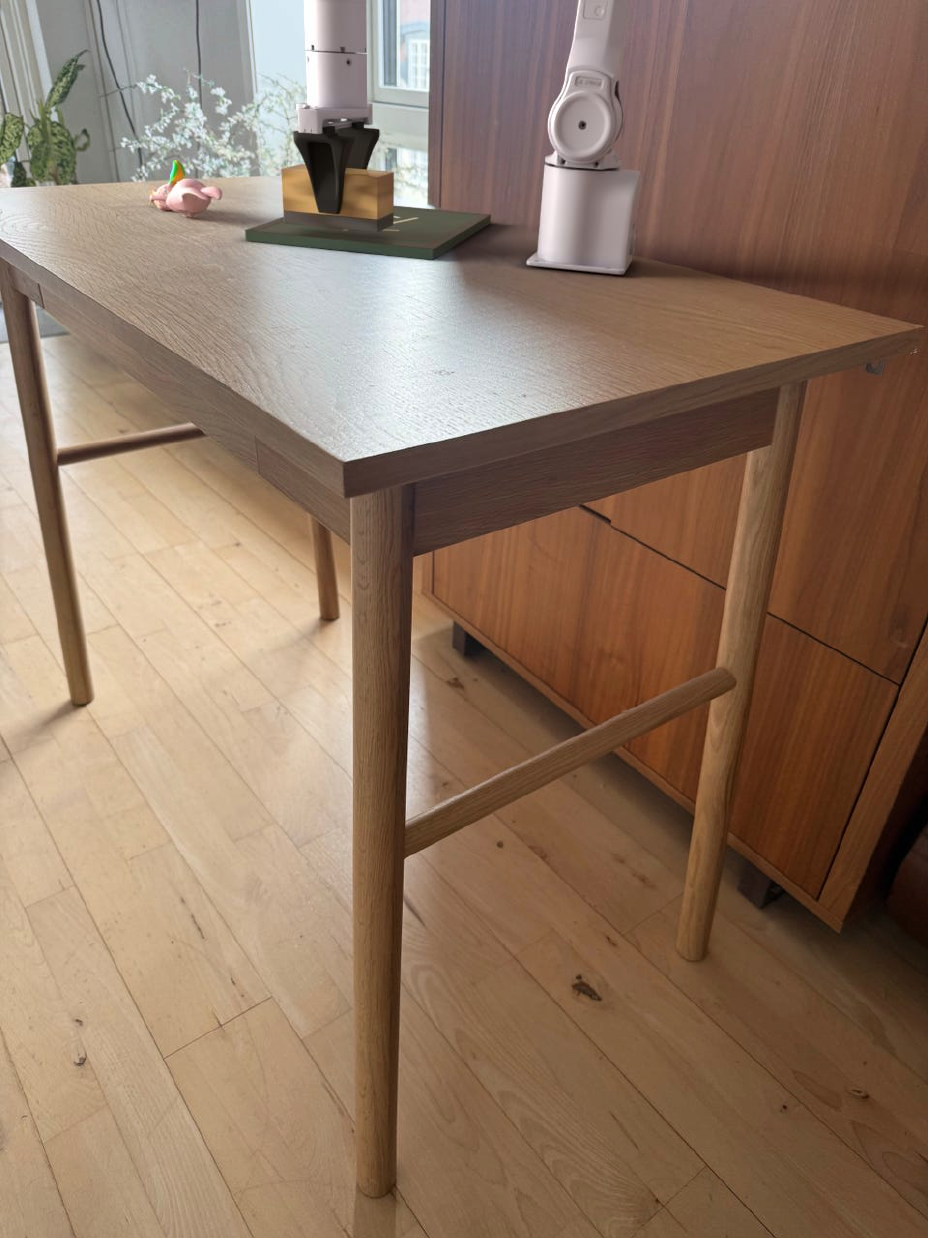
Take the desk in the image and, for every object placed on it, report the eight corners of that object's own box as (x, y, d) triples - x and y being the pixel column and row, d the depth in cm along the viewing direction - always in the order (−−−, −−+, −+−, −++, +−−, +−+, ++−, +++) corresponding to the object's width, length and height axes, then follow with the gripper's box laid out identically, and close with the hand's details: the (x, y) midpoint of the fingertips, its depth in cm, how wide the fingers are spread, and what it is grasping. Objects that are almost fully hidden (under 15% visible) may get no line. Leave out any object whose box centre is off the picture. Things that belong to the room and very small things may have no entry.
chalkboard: (490, 223, 111) (491, 214, 110) (433, 259, 91) (433, 248, 90) (333, 208, 115) (333, 199, 114) (245, 240, 95) (244, 229, 94)
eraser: (393, 224, 96) (394, 171, 93) (377, 232, 92) (377, 176, 89) (303, 216, 98) (301, 163, 95) (283, 223, 94) (280, 168, 91)
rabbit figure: (139, 220, 109) (188, 217, 98) (129, 163, 107) (177, 154, 96) (190, 217, 113) (242, 214, 101) (181, 162, 110) (234, 153, 99)
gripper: (325, 50, 94) (329, 196, 101) (263, 49, 82) (272, 215, 89) (392, 54, 93) (391, 202, 100) (338, 53, 81) (341, 222, 88)
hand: (339, 209), depth 94 cm, fingers closed on eraser, 5 cm apart
